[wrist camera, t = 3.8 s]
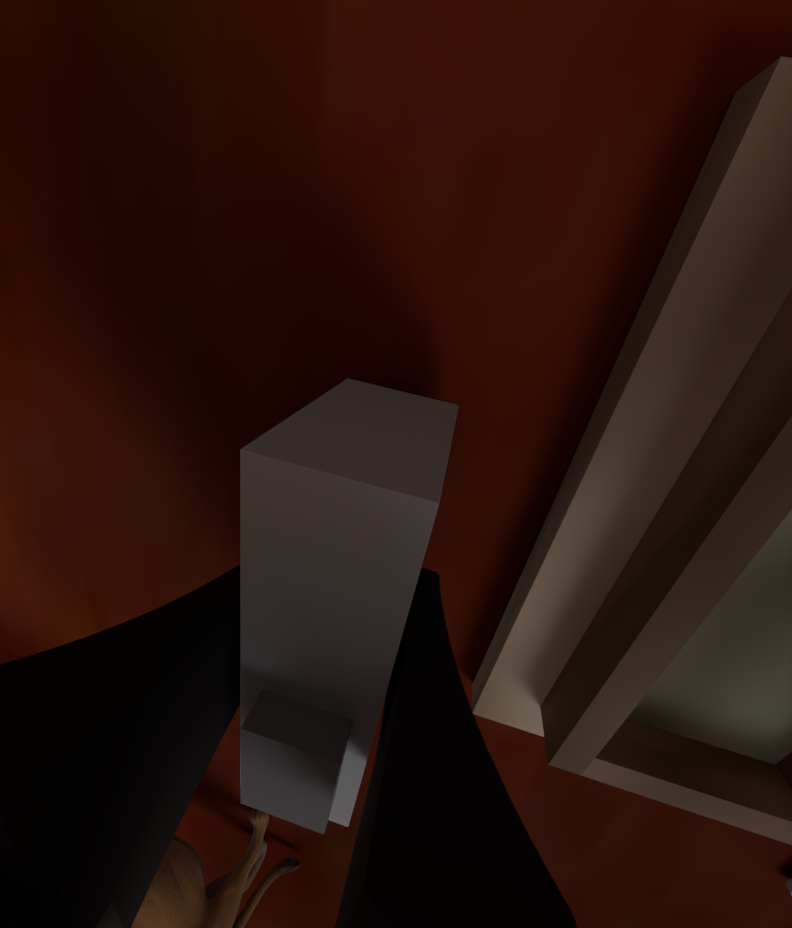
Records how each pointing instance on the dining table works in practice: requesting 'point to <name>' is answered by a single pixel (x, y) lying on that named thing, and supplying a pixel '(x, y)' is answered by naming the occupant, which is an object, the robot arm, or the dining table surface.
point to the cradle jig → (679, 518)
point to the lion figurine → (213, 906)
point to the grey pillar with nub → (329, 587)
